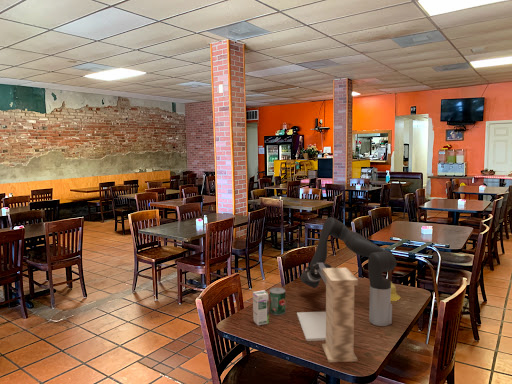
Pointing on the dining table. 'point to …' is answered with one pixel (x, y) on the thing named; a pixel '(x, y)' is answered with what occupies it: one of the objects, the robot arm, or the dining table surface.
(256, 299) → the syrup box
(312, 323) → the off-white board
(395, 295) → the handbell
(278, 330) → the dining table surface
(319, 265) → the dark grey block
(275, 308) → the canned tomato
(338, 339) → the birch stand
